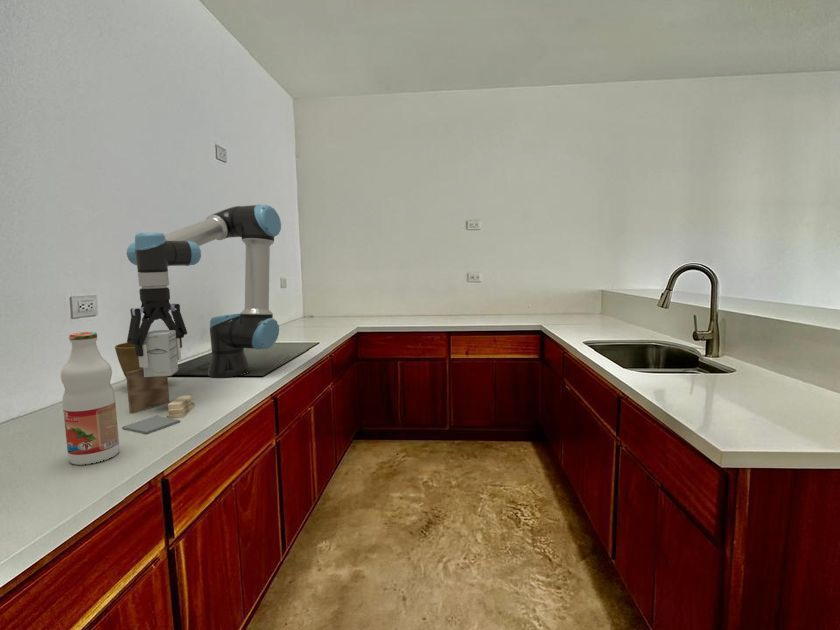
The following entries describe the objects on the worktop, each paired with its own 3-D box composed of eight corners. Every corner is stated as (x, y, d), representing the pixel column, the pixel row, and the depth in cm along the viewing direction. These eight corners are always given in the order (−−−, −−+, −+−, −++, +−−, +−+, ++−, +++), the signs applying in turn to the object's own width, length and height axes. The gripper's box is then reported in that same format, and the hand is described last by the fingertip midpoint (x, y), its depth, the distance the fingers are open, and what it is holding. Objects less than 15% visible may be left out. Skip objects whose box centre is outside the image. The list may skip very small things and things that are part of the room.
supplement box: (143, 378, 131) (139, 334, 129) (152, 371, 138) (149, 330, 136) (171, 376, 132) (167, 333, 130) (179, 370, 139) (176, 329, 138)
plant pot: (145, 382, 168) (141, 339, 166) (178, 384, 164) (175, 340, 162) (107, 393, 154) (103, 346, 152) (143, 396, 150) (139, 348, 148)
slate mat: (156, 417, 129) (156, 415, 129) (180, 422, 125) (180, 420, 125) (122, 428, 120) (122, 426, 120) (146, 434, 116) (146, 432, 116)
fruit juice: (125, 455, 103) (115, 332, 100) (74, 470, 96) (61, 338, 93) (112, 445, 109) (101, 328, 106) (63, 458, 102) (50, 334, 99)
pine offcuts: (180, 407, 139) (179, 395, 138) (195, 406, 139) (194, 394, 139) (166, 419, 128) (165, 406, 127) (182, 418, 128) (181, 405, 128)
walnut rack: (167, 401, 144) (164, 363, 143) (169, 401, 144) (166, 364, 142) (129, 412, 133) (126, 372, 132) (131, 413, 133) (128, 372, 131)
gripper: (179, 284, 143) (185, 354, 146) (105, 289, 123) (114, 370, 126) (196, 284, 140) (202, 356, 143) (123, 290, 120) (131, 373, 123)
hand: (161, 363), depth 135 cm, fingers closed on supplement box, 10 cm apart
